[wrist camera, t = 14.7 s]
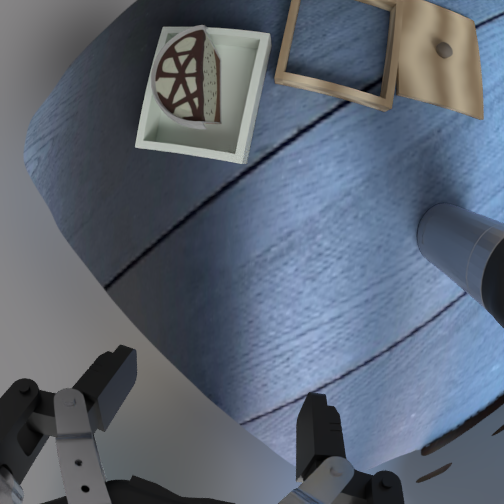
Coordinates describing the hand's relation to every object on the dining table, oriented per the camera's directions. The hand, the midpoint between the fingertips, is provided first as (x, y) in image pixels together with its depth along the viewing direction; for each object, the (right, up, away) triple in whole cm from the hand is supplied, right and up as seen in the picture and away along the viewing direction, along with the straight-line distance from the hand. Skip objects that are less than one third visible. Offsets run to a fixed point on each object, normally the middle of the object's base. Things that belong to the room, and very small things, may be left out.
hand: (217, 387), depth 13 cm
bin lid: (+29, +35, +18) cm, 49 cm away
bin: (-4, +27, +24) cm, 36 cm away
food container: (-5, +27, +23) cm, 36 cm away
